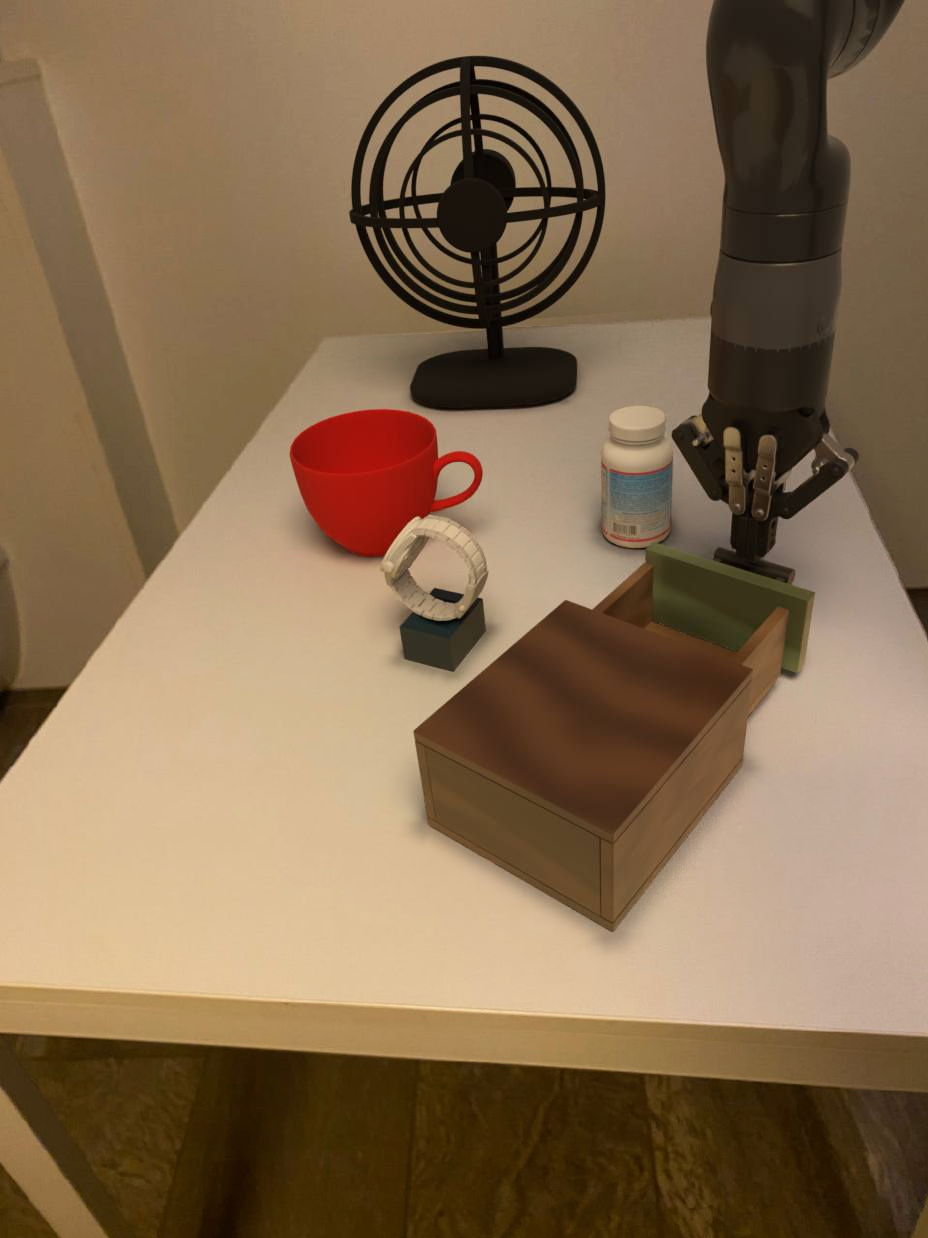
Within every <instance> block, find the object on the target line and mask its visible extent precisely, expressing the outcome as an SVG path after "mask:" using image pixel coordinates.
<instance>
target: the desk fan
mask: <svg viewBox="0 0 928 1238" xmlns="http://www.w3.org/2000/svg"><path fill="white" fill-rule="evenodd" d="M475 67H481V68H482V67H483V68H491V69H499V70H503V71H507V72H510V73H513V74H516V75H519V76H521V77H523V78H525V79H527V80H529V81H531V82H533V83H534V84H536V85H538V86H539V87H541V88H542V89H544V90H545V91H546V92H548V93H549V94H550V95H551V96H552V97H554V99H556V100H557V101H558V102H559V103H560V104H561V105H562V106H563V107H564V108H565V110H566V112H568V113H569V115H570V116H571V117H572V119H573V121H574V122H575V124H576V125H577V127H578V128H579V130H580V132H581V134H582V136H583V137H584V140H585V142H586V144H587V146H588V149H589V152H590V155H591V158H592V162H593V166H594V171H595V177H596V185H597V190H595V189H591V188H585V183H584V174H583V168H582V164H581V161H580V156H579V153H578V150H577V148H576V145H575V143H574V141H573V139H572V137H571V135H570V133H569V131H568V130H567V128H566V126H565V125H564V123H563V121H561V119H560V118H559V117H558V116H557V115H556V114H555V112H554V111H553V110H552V109H551V108H550V107H549V106H548V105H547V104H545V102H543V101H542V100H541V99H539V98H538V97H536V96H535V95H533V93H530V92H529V91H527V90H525V89H523V88H521V87H519V86H516V85H515V84H511V83H508V82H504V81H500V80H495V79H486V78H477V76H476V70H475ZM454 69H455V70H456V69H459V80H458V81H453V82H451V83H447V84H444V85H442V86H440V87H437V88H435V89H434V90H431V91H430V92H428V93H426V94H425V95H424V96H422V97H421V98H419V99H418V100H417V101H416V102H414V104H412V105H411V106H410V107H409V108H408V109H407V110H406V111H405V112H404V113H403V115H402V116H401V117H400V118H399V119H398V120H397V121H396V122H395V123H394V124H393V126H392V128H391V129H390V130H389V132H388V133H387V135H386V136H385V138H384V140H383V141H382V143H381V145H380V147H379V150H378V152H377V154H376V157H375V160H374V162H373V166H372V169H371V175H370V180H369V188H368V189H369V191H368V203H366V204H363V205H362V195H361V194H362V193H361V191H362V189H361V188H362V187H361V186H362V175H363V174H362V173H363V167H364V162H365V158H366V154H367V150H368V147H369V144H370V141H371V139H372V137H373V134H374V132H375V130H376V128H377V127H378V125H379V123H380V121H381V120H382V119H383V117H384V115H385V114H386V112H387V111H388V110H389V109H390V107H391V106H392V105H393V104H394V103H395V102H396V101H397V100H398V99H399V98H400V97H401V96H402V95H403V94H405V92H407V91H408V90H410V89H411V88H412V87H414V86H415V85H417V84H419V83H420V82H422V81H424V80H426V79H428V78H430V77H432V76H434V75H438V74H440V73H443V72H445V71H449V70H454ZM479 95H486V96H492V97H497V98H500V99H504V100H507V101H509V102H511V103H514V104H516V105H518V106H520V107H522V108H524V109H525V110H527V111H528V112H530V113H531V114H533V115H534V117H536V118H538V119H539V120H540V122H542V123H543V124H544V125H545V126H546V127H547V128H548V129H549V131H550V132H551V133H552V134H553V135H554V137H555V138H556V139H557V141H558V142H559V144H560V146H561V148H562V150H563V152H564V153H565V156H566V158H567V160H568V163H569V165H570V168H571V171H572V176H573V180H574V184H575V187H570V186H552V185H553V184H552V177H551V172H550V171H551V170H550V168H549V164H548V161H547V158H546V157H545V154H544V152H543V150H542V149H541V148H540V146H539V144H538V143H537V141H536V140H535V138H533V137H532V135H530V133H528V131H526V130H525V129H524V128H522V126H520V125H519V124H517V123H515V122H513V121H512V120H510V119H508V118H505V117H502V116H499V115H496V114H490V113H481V109H480V108H481V107H480V99H479ZM457 96H459V106H460V117H456V118H454V119H453V120H450V121H448V122H447V123H445V124H444V125H442V126H441V127H439V128H438V129H437V130H436V131H435V132H434V133H433V134H432V135H431V136H430V137H429V139H428V140H427V141H426V142H425V144H424V145H423V147H422V148H421V150H420V152H419V153H418V154H417V155H416V156H415V157H414V160H413V161H412V162H411V164H410V165H409V167H408V169H407V171H406V173H405V176H404V178H403V181H402V183H401V188H400V193H399V197H396V198H392V199H385V196H384V182H385V181H384V179H385V172H386V166H387V162H388V158H389V155H390V152H391V150H392V147H393V145H394V142H395V140H396V138H397V137H398V135H399V134H400V131H402V129H403V127H404V126H405V124H406V123H407V122H409V120H411V119H412V118H413V117H414V116H415V115H417V114H418V113H419V112H421V111H423V110H424V109H425V108H428V107H429V106H431V105H432V104H433V105H434V103H438V102H440V101H443V100H445V99H449V98H452V97H457ZM482 121H490V122H496V123H499V124H501V125H504V126H507V127H509V128H511V129H512V130H514V131H515V132H517V133H518V134H520V135H521V136H522V137H523V138H524V139H526V141H527V142H528V143H529V144H530V145H531V147H532V148H533V150H534V151H535V152H536V154H537V156H538V158H539V160H540V163H541V165H542V167H543V171H544V175H545V180H546V183H545V180H544V178H543V175H542V172H541V171H540V169H539V167H538V165H537V164H536V162H535V161H534V159H533V158H532V157H531V155H530V154H529V153H528V152H527V151H526V150H525V149H524V148H523V147H522V146H521V145H519V144H518V143H517V142H516V141H514V140H513V139H511V138H509V137H507V136H506V135H504V134H502V133H499V132H496V131H492V130H489V129H484V128H482ZM459 124H460V128H461V129H457V130H456V129H455V130H453V131H450V132H447V133H445V134H443V133H444V132H445V131H447V130H449V129H451V128H452V127H455V126H457V125H459ZM442 134H443V135H442ZM472 136H473V140H472ZM457 137H461V147H462V160H461V161H460V162H459V163H458V164H457V165H456V167H455V169H454V171H453V173H452V176H451V180H450V185H449V186H447V188H446V189H445V190H444V191H443V192H437V193H427V194H420V195H419V194H417V178H418V174H419V169H420V167H421V166H420V165H421V163H422V160H423V158H424V157H425V155H426V154H428V153H429V152H430V151H431V150H432V149H434V148H435V147H436V146H438V145H440V144H442V143H444V142H445V141H448V140H450V139H454V138H457ZM483 137H488V138H492V139H494V140H497V141H499V142H502V143H504V144H505V145H507V146H509V147H510V148H512V149H513V150H514V151H516V152H517V153H518V154H519V155H520V157H522V158H523V159H524V160H525V161H526V163H527V164H528V165H529V167H530V168H531V170H532V171H533V173H534V175H535V177H536V179H537V181H538V184H539V186H528V187H527V186H524V187H523V186H522V187H517V186H516V185H517V179H516V173H515V171H514V167H513V166H512V164H511V162H510V160H509V159H508V158H506V156H505V155H503V154H502V153H500V152H499V151H497V150H494V149H489V148H484V139H483ZM472 141H473V143H472ZM473 145H474V146H473ZM598 145H599V144H598V143H597V140H596V138H595V136H594V132H593V131H592V129H591V127H590V125H589V123H588V121H587V119H586V118H585V116H584V115H583V113H582V112H581V110H580V109H579V107H578V106H577V104H576V103H575V102H574V101H573V100H572V99H571V98H570V97H569V95H568V94H567V93H566V92H565V91H563V89H561V88H560V87H559V86H558V85H557V84H556V83H555V82H553V81H552V80H551V79H549V78H548V77H547V76H545V75H543V74H542V73H540V72H539V71H537V70H535V69H533V68H532V67H529V66H527V65H524V64H522V63H520V62H517V61H514V60H510V59H506V58H502V57H497V56H491V55H490V56H489V55H466V56H465V55H464V56H457V57H452V58H448V59H445V60H444V59H443V60H440V61H438V62H435V63H432V64H431V65H428V66H426V67H424V68H422V69H420V70H419V71H417V72H415V73H413V74H412V75H411V76H409V77H407V78H406V79H405V80H403V81H402V82H401V83H400V84H399V85H397V86H396V87H395V88H394V89H393V90H392V91H391V92H390V93H389V94H388V95H387V96H386V97H385V98H384V100H383V101H382V102H381V103H380V104H379V106H377V109H376V110H375V111H374V113H373V114H372V116H371V118H370V119H369V121H368V123H367V125H366V126H365V129H364V131H363V133H362V135H361V138H360V140H359V143H358V146H357V149H356V152H355V157H354V161H353V166H352V172H351V173H352V174H351V184H350V186H351V187H350V194H351V195H350V197H351V209H350V210H349V211H348V215H349V221H350V224H353V225H355V230H356V232H357V236H358V238H359V241H360V244H361V246H362V249H363V251H364V253H365V255H366V257H367V259H368V261H369V263H370V265H371V266H372V268H373V269H374V271H375V273H376V274H377V275H378V277H379V278H380V279H381V281H382V282H383V283H384V284H385V285H386V286H387V288H388V289H389V290H390V291H391V292H392V293H393V294H394V295H395V296H397V297H398V299H400V300H401V301H402V302H403V303H404V304H407V305H408V306H409V307H410V308H411V309H413V310H415V311H416V312H418V313H420V314H422V315H424V316H426V317H428V318H429V319H431V320H434V321H437V322H439V323H443V324H445V325H446V324H447V325H448V326H452V327H453V326H454V327H456V328H457V327H458V328H462V329H471V330H472V329H473V330H476V329H477V330H485V334H486V345H487V348H476V349H475V348H474V349H472V348H471V349H463V350H462V349H461V350H455V351H454V350H453V351H448V352H445V353H440V354H437V355H434V356H431V357H429V358H427V359H425V360H423V361H422V362H420V363H419V364H418V365H417V367H416V369H415V372H414V375H413V377H412V379H411V383H410V385H409V390H410V391H409V392H410V396H411V397H412V398H413V399H414V400H415V401H416V402H418V403H421V404H423V405H426V406H431V407H439V408H451V409H452V408H453V409H455V408H456V409H457V408H485V407H486V408H487V407H509V406H511V407H512V406H529V405H536V404H541V403H547V402H550V401H554V400H558V399H560V398H562V397H564V396H567V395H568V394H570V393H572V392H573V391H574V390H575V388H576V387H577V383H578V382H577V381H578V379H577V377H578V359H577V357H576V356H575V355H574V354H573V353H571V352H569V351H566V350H563V349H559V348H554V347H548V346H547V347H546V346H518V347H517V346H516V347H505V346H504V345H505V344H504V331H503V327H508V326H511V325H515V324H519V323H521V322H524V321H527V320H529V319H531V318H533V317H535V316H538V315H539V314H541V313H542V312H544V311H546V310H547V309H549V308H550V307H551V306H553V305H555V304H556V303H557V302H558V301H559V300H561V299H562V297H564V296H565V294H567V292H569V290H571V288H572V287H573V286H575V284H576V282H578V280H579V279H580V277H581V276H582V274H583V273H584V271H585V270H586V268H587V266H588V265H589V264H590V261H591V260H592V257H593V254H594V253H595V250H596V248H597V245H598V242H599V239H600V236H601V232H602V229H603V224H604V218H605V212H606V195H607V194H606V177H605V176H606V175H605V170H604V164H603V159H602V156H601V151H600V149H599V146H598ZM473 147H474V151H473ZM410 179H411V185H410V189H411V190H410V193H411V195H410V196H406V193H407V189H408V185H409V181H410ZM532 197H534V198H537V197H538V198H542V199H543V200H542V202H543V207H542V208H535V209H529V210H519V211H509V210H510V208H511V206H512V204H513V203H514V199H515V198H532ZM552 198H574V199H576V202H570V203H567V204H561V205H555V206H551V203H552ZM428 204H429V205H430V204H437V207H436V217H423V216H422V213H421V211H420V207H419V206H421V205H428ZM405 207H412V208H413V212H414V215H415V217H414V218H413V217H412V218H411V217H409V218H408V217H406V213H405V212H406V211H405ZM595 208H596V213H595V219H594V224H593V227H592V232H591V235H590V237H589V240H588V243H587V246H586V248H585V250H584V252H583V254H582V256H581V258H580V260H579V261H578V263H577V265H576V266H575V267H574V269H573V270H572V271H571V273H570V274H569V275H568V276H567V278H566V279H565V280H564V281H563V282H562V283H561V284H560V286H559V287H557V288H556V289H555V290H554V291H552V292H551V293H550V294H549V295H548V296H546V297H544V299H542V300H540V301H539V302H537V303H535V304H533V305H531V306H529V307H527V308H525V309H523V310H521V311H518V312H514V313H512V314H508V315H504V316H503V315H502V312H503V313H504V312H506V311H510V310H512V309H516V308H518V307H520V306H522V305H525V304H526V303H528V302H529V301H531V300H533V299H534V298H536V297H538V296H540V294H541V293H543V292H544V291H546V289H548V287H550V285H552V284H553V282H554V281H556V279H557V278H558V276H560V274H561V273H562V272H563V270H564V269H565V267H566V265H567V264H568V262H569V260H570V258H571V257H572V254H573V253H574V251H575V248H576V245H577V242H578V241H579V236H580V233H581V229H582V225H583V217H584V212H586V211H589V210H593V209H595ZM394 209H395V210H396V209H398V214H399V216H398V217H388V216H387V212H386V211H388V210H394ZM508 211H509V212H508ZM367 215H369V216H367ZM568 215H574V218H573V222H572V226H571V229H570V231H569V234H568V236H567V238H566V240H565V242H564V244H563V246H562V248H561V249H560V251H559V252H558V254H557V255H556V256H555V258H554V259H553V260H552V261H551V263H549V264H548V266H547V267H546V268H545V269H544V270H543V271H541V272H540V273H539V274H538V275H536V276H535V277H533V278H532V279H530V280H529V281H527V282H525V283H523V284H522V285H520V286H518V287H517V286H516V287H514V288H512V289H510V290H506V291H502V292H501V291H500V290H501V289H500V288H501V287H500V285H501V284H503V283H506V282H509V280H512V279H513V278H515V277H516V276H518V275H519V274H521V272H523V270H525V268H527V267H528V266H529V265H530V263H531V262H532V261H533V259H534V258H535V257H536V256H537V254H538V252H539V250H540V248H541V246H542V244H543V242H544V239H545V237H546V234H547V233H546V232H547V229H548V225H549V224H548V222H549V219H551V218H556V217H557V218H558V217H563V216H568ZM538 220H540V222H539V224H538V225H537V227H536V229H535V231H533V234H532V235H531V236H530V237H529V238H528V240H527V241H525V242H524V243H523V244H521V246H519V247H518V248H516V249H515V250H513V251H511V252H510V253H507V254H505V255H502V256H499V257H498V242H499V241H500V240H501V238H502V237H503V236H504V233H505V232H506V228H507V225H508V224H511V223H519V222H528V221H538ZM367 228H372V230H373V234H374V237H375V240H376V242H377V246H378V247H379V250H380V252H381V254H382V256H383V258H384V260H385V261H386V263H387V264H388V266H389V268H390V269H391V270H392V272H393V273H394V274H395V275H396V277H397V278H398V279H399V280H400V281H401V283H403V284H404V285H405V286H406V288H408V289H409V290H411V291H412V292H413V293H414V294H415V295H417V296H418V297H420V298H422V299H423V300H425V301H426V302H428V303H430V304H432V305H434V306H437V307H438V308H442V309H443V310H446V311H450V312H452V313H453V312H454V313H458V314H464V315H474V316H475V315H476V316H477V317H478V318H476V317H475V318H474V317H473V318H472V317H464V316H459V315H455V314H450V313H447V312H444V311H442V310H439V309H436V308H434V307H432V306H430V305H428V304H427V303H425V302H423V301H421V300H420V299H418V298H417V297H415V296H414V295H413V294H411V293H410V292H409V291H407V289H405V288H404V287H403V286H402V285H401V284H400V283H399V282H398V281H397V280H396V279H395V278H394V276H392V275H391V273H390V272H389V270H387V267H386V266H385V265H384V264H383V262H382V260H381V259H380V257H379V256H378V253H377V251H376V249H375V248H374V245H373V243H372V241H371V238H370V236H369V232H368V229H367ZM392 229H401V231H402V234H403V237H404V239H405V242H406V244H407V246H408V248H409V250H410V252H411V253H412V255H413V256H414V257H415V259H416V260H417V262H419V264H420V265H421V266H422V267H423V269H425V270H426V271H428V272H429V273H430V274H432V275H433V276H434V277H436V278H438V279H439V280H441V281H443V282H445V283H448V284H450V285H453V286H456V287H459V288H464V289H474V293H467V292H462V291H458V290H455V289H451V288H449V287H447V286H444V285H442V284H440V283H438V282H436V281H435V280H433V279H432V278H430V277H428V276H427V275H426V274H424V272H422V271H420V270H419V268H417V266H415V264H413V263H412V261H410V259H409V258H408V257H407V255H406V254H405V253H404V252H403V250H402V248H401V246H400V245H399V243H398V241H397V240H396V238H395V236H394V233H393V232H392ZM409 229H421V230H422V232H423V233H424V235H425V237H426V238H427V239H428V240H429V241H430V242H431V244H432V245H433V246H434V247H435V248H436V249H438V251H440V252H442V253H443V254H444V255H446V256H447V257H449V258H451V259H453V260H454V261H455V260H456V261H457V262H460V263H464V264H468V265H471V272H472V279H473V282H472V281H465V280H460V279H456V278H454V277H451V276H449V275H447V274H445V273H443V272H441V271H439V270H438V269H436V268H435V267H434V266H432V264H430V263H429V262H428V261H427V260H426V259H425V258H424V257H423V256H422V254H421V253H420V252H419V250H418V249H417V247H416V245H415V243H414V242H413V240H412V237H411V235H410V231H409ZM429 229H439V231H440V234H441V235H442V238H444V240H445V241H446V242H447V243H448V244H449V245H450V246H451V247H452V248H454V249H456V250H458V251H460V252H464V253H468V254H470V257H466V256H464V255H461V254H458V253H456V252H454V251H452V250H450V249H449V248H447V247H446V246H445V245H443V244H442V243H441V242H440V241H439V240H438V239H437V238H436V237H435V236H434V234H432V232H431V231H430V230H429ZM538 236H539V237H538ZM536 239H538V240H537V241H536V244H535V246H534V247H533V249H532V251H531V252H530V253H529V255H528V256H527V257H526V259H525V260H524V261H523V262H522V263H520V265H519V266H517V267H516V268H515V269H513V270H512V271H510V272H509V273H507V274H505V275H503V276H500V273H499V264H501V263H505V262H506V261H507V262H508V261H509V260H511V259H513V258H516V257H517V256H518V255H520V254H521V253H523V252H524V251H526V250H527V249H528V248H529V247H530V246H531V245H532V244H533V243H534V241H535V240H536ZM389 247H390V248H389ZM390 249H391V250H390ZM391 251H392V252H391ZM392 253H393V254H394V255H395V256H394V255H393V254H392ZM395 257H396V259H397V260H398V261H399V262H400V263H401V265H402V266H403V267H404V268H405V270H406V271H407V272H408V273H409V274H410V275H411V276H412V277H413V278H414V279H416V280H417V281H418V282H419V283H421V284H422V285H424V286H425V287H427V288H428V289H430V290H431V291H433V292H435V293H437V294H439V295H441V296H444V297H446V298H449V299H452V300H456V301H460V302H466V303H474V304H476V305H470V304H469V305H468V304H463V303H462V304H461V303H456V302H452V301H449V300H448V299H447V300H446V299H445V298H441V297H439V296H437V295H436V294H433V293H431V292H430V291H428V290H427V289H425V288H423V287H422V286H421V285H420V284H419V283H417V282H416V281H415V280H413V278H411V276H409V275H408V273H407V272H406V271H405V270H404V269H403V268H402V266H401V265H400V264H399V263H398V261H397V260H396V259H395ZM507 300H508V301H507ZM503 301H505V302H503Z"/></svg>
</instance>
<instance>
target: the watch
mask: <svg viewBox="0 0 928 1238" xmlns="http://www.w3.org/2000/svg"><path fill="white" fill-rule="evenodd" d="M429 538H432V539H436V540H437V541H439V542H442V543H444V544H445V543H446V546H448V547H449V548H450V549H452V550H453V551H455V552H456V554H458V555H459V557H460V558H461V559H463V562H464V564H465V566H466V567H467V569H469V570H468V572H469V574H468V581H467V584H466V586H465V590H464V593H461V592H455V591H451V590H446V589H442V588H437V587H433V588H432V589H431V591H430V592H429V593H428V592H426V591H425V590H424V589H423V588H422V586H421V585H419V584H417V583H418V582H417V581H416V580H415V578H414V577H413V576H412V575H411V572H410V570H409V569H410V568H411V567H412V566H413V564H414V562H415V561H416V559H417V558H418V557H419V555H420V554H421V552H422V551H423V549H424V548H425V546H426V544H427V542H428V540H429ZM379 570H380V571H381V572H383V573H384V579H385V583H386V585H387V586H388V587H389V588H390V589H391V591H392V592H393V593H394V596H396V597H397V599H398V600H399V601H401V603H402V604H403V605H404V606H405V607H406V608H408V609H409V610H411V613H410V614H409V615H408V616H407V617H406V618H405V620H404V621H403V622H402V623H401V624H400V625H399V626H398V628H399V633H400V640H401V645H402V652H403V658H404V660H408V661H411V662H416V663H419V664H423V665H426V666H430V667H435V668H438V669H442V670H444V671H445V670H446V671H449V672H455V670H457V668H458V666H459V665H460V664H461V663H462V662H463V660H464V659H465V658H466V657H467V655H468V654H469V653H470V651H471V650H472V649H473V647H474V646H475V645H476V644H477V642H478V641H479V640H480V639H481V638H482V637H483V635H484V633H485V632H486V630H487V627H486V619H485V616H486V615H485V607H484V598H483V597H479V596H480V595H481V593H482V592H483V590H484V588H485V586H486V583H487V580H488V577H489V570H488V565H487V558H486V555H485V553H484V550H483V548H482V547H481V545H480V544H479V542H478V541H477V539H476V538H475V536H473V534H471V532H470V531H468V529H467V528H465V527H464V526H463V525H461V524H460V523H458V522H456V521H455V520H452V519H450V518H447V517H444V516H438V515H433V514H429V515H428V516H426V517H425V518H423V519H421V518H420V517H415V518H414V519H412V520H411V521H410V522H409V523H408V524H407V525H406V526H405V527H404V529H403V530H402V531H401V532H400V534H399V535H398V536H397V537H396V539H395V540H394V542H393V543H392V545H391V546H390V548H389V549H388V551H387V553H386V554H385V555H383V559H382V561H381V563H380V566H379Z"/></svg>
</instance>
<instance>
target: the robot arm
mask: <svg viewBox="0 0 928 1238" xmlns="http://www.w3.org/2000/svg"><path fill="white" fill-rule="evenodd" d="M905 2H906V0H713V2H712V5H711V9H710V13H709V17H708V22H707V29H706V37H705V38H706V40H705V67H706V69H705V70H706V78H707V84H708V91H709V96H710V97H709V98H710V105H711V111H712V116H713V123H714V129H715V136H716V142H717V147H718V151H719V156H720V160H721V164H722V168H723V175H724V183H723V191H722V204H721V205H722V207H721V220H720V221H721V222H720V223H721V224H720V239H719V240H720V241H719V250H718V251H719V252H718V259H717V265H716V269H715V274H714V280H713V287H712V300H711V304H710V310H709V313H710V317H711V319H710V320H711V321H710V338H709V352H708V353H709V356H708V371H707V389H708V396H707V398H706V400H705V401H704V402H703V405H702V406H701V411H700V414H698V415H695V414H693V415H691V416H690V417H689V418H687V419H685V420H684V421H682V422H681V423H680V424H678V426H676V427H675V428H673V430H672V431H671V439H672V440H673V442H674V444H675V445H676V447H677V448H678V451H679V452H680V454H681V455H682V457H683V458H684V460H685V462H686V463H687V465H688V467H689V468H690V470H691V471H692V473H693V474H694V476H695V478H696V480H697V481H698V483H699V484H700V486H701V487H702V489H703V491H704V492H705V494H706V496H707V497H708V499H709V500H711V501H713V502H718V501H721V502H723V503H725V504H726V505H728V508H729V510H730V512H731V525H730V537H729V544H730V546H731V550H734V551H736V557H737V558H740V559H743V560H746V561H750V562H753V563H757V562H758V560H759V559H761V558H762V559H764V558H765V557H766V556H767V555H768V554H769V552H771V551H772V550H773V549H774V547H775V545H776V541H777V532H778V522H779V518H781V519H782V520H790V519H792V518H793V517H795V516H796V515H797V514H798V513H800V512H801V511H802V510H803V509H805V508H806V507H808V506H809V505H810V504H811V503H812V502H814V501H815V500H816V499H818V498H819V497H820V496H822V495H823V494H824V493H825V492H826V491H828V490H829V489H830V488H832V487H833V486H834V485H835V484H836V483H838V482H839V481H840V480H842V479H844V477H845V476H846V474H848V472H849V471H850V470H851V469H852V468H854V466H855V465H856V464H858V462H859V460H860V455H859V452H858V451H857V450H856V449H854V448H853V447H845V448H844V449H843V448H842V447H841V445H839V444H838V442H837V441H835V439H834V438H832V436H831V435H830V434H829V432H830V430H831V422H830V418H829V416H828V414H827V411H826V401H827V396H828V390H829V383H830V375H831V368H832V362H833V361H832V360H833V353H834V347H835V338H836V331H837V323H838V317H839V316H838V315H839V308H840V302H841V301H840V300H841V294H842V293H841V292H842V281H843V279H842V275H843V274H842V273H843V271H842V252H843V244H844V236H845V229H846V222H847V221H846V220H847V212H848V205H849V196H850V189H851V175H852V161H851V154H850V151H849V149H848V147H847V145H846V144H845V143H844V142H843V141H842V140H840V139H839V138H838V137H835V136H833V135H831V134H829V133H828V131H829V130H828V129H829V127H828V80H831V79H834V78H836V77H839V76H842V75H844V74H846V73H847V72H849V71H851V70H853V69H854V68H855V67H856V66H858V65H859V64H861V63H862V62H863V61H865V59H866V58H867V57H869V55H870V54H871V53H872V52H873V51H874V50H875V48H876V47H877V46H878V44H879V43H880V42H881V40H882V39H883V37H884V36H885V35H886V33H888V31H889V29H890V27H891V26H892V24H893V23H894V22H895V19H896V18H897V16H898V15H899V12H900V11H901V9H902V7H903V5H904V4H905ZM812 451H814V452H815V457H814V459H813V460H812V461H811V464H810V468H811V473H812V475H811V476H809V477H808V478H807V479H806V480H805V481H803V482H802V483H801V484H800V485H798V486H797V487H796V488H794V489H793V490H792V491H786V486H787V482H788V479H789V477H790V476H791V474H792V469H793V468H795V466H797V465H798V464H799V463H800V462H801V461H802V460H803V459H804V458H805V457H807V456H808V455H809V454H810V453H811V452H812Z"/></svg>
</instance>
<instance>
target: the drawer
mask: <svg viewBox="0 0 928 1238" xmlns="http://www.w3.org/2000/svg"><path fill="white" fill-rule="evenodd" d="M644 552H645V553H644V555H645V557H644V559H645V560H644V563H642V564H641V565H640V566H639V567H638V568H637V569H636V570H634V572H632V573H631V574H630V575H629V576H628V577H627V578H626V579H624V580H623V581H622V582H621V583H620V584H618V586H616V588H615V589H613V590H612V591H611V592H610V593H609V594H608V595H606V597H604V598H603V599H602V600H601V601H600V602H599V603H597V604H596V606H594V607H593V608H591V609H592V610H595V611H598V612H600V613H603V614H606V615H608V616H611V617H614V618H616V619H619V620H622V621H625V622H627V623H630V624H633V625H635V626H638V627H641V628H643V629H646V630H649V631H652V632H654V633H657V634H660V635H662V636H665V637H668V638H670V639H673V640H676V641H679V642H681V643H684V644H687V645H689V646H692V647H695V648H697V649H700V650H703V651H706V652H708V653H711V654H714V655H716V656H719V657H722V658H725V659H727V660H730V661H733V662H735V663H738V664H741V665H743V666H746V667H749V668H752V669H753V675H752V683H751V692H750V701H749V710H748V716H750V714H751V713H752V712H753V710H754V709H755V708H756V707H757V706H758V705H759V703H760V702H761V701H762V699H764V697H765V696H766V695H767V694H768V692H769V691H770V690H771V688H772V687H773V686H774V685H775V683H776V682H777V681H778V680H779V679H780V677H781V671H782V669H784V670H787V671H789V672H792V673H795V674H798V673H799V672H800V671H801V669H802V668H803V667H804V666H805V662H806V657H807V656H806V655H807V650H808V642H809V637H810V630H811V624H812V617H813V611H814V610H813V609H814V605H815V597H816V592H815V591H813V590H810V589H806V588H803V587H800V586H796V585H793V584H794V581H795V578H796V569H795V568H792V567H788V566H785V565H783V564H779V563H775V562H772V561H768V560H766V559H763V558H762V559H761V558H760V559H759V560H758V562H757V563H753V562H750V561H746V560H743V559H740V558H737V557H736V550H733V549H728V548H725V547H723V546H718V547H717V548H716V549H715V550H714V553H713V555H712V559H710V558H706V557H703V556H700V555H697V554H693V553H691V552H688V551H684V550H682V549H677V548H674V547H672V546H667V545H664V544H661V543H655V542H653V543H652V544H651V545H650V546H649V547H645V551H644Z"/></svg>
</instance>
